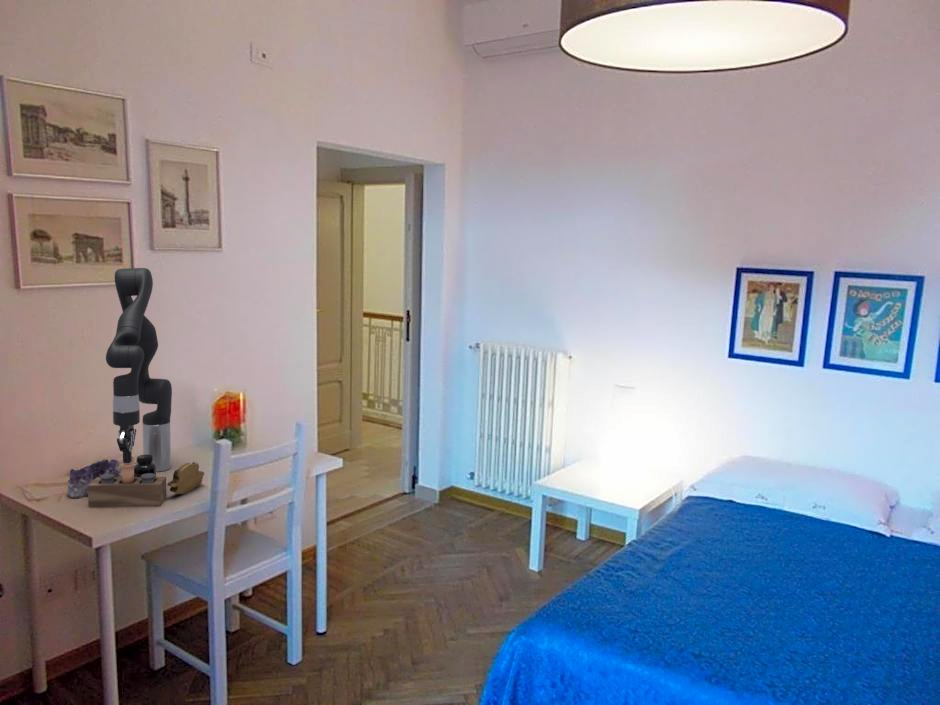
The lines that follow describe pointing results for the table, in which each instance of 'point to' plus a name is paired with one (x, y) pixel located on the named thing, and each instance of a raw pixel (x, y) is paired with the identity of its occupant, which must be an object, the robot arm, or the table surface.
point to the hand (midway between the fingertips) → (127, 462)
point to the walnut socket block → (127, 493)
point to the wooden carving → (186, 478)
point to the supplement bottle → (144, 465)
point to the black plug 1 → (107, 478)
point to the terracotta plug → (127, 472)
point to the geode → (90, 477)
